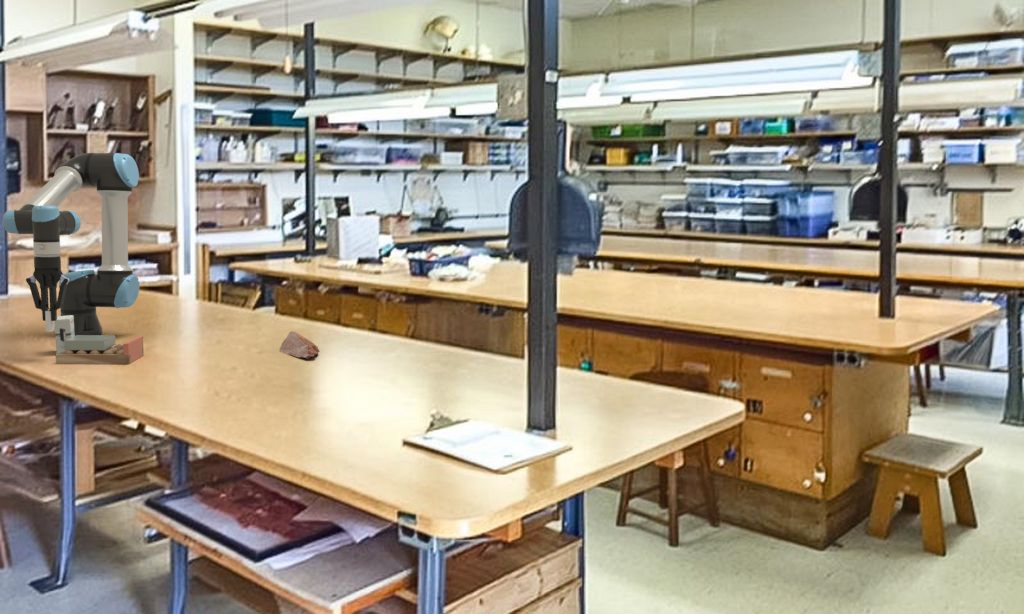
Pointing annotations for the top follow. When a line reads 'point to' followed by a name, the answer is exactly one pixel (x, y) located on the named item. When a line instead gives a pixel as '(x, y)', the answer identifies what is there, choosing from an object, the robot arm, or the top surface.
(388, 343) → the top surface
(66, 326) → the ink box
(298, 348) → the rock
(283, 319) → the top surface
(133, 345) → the stop rail
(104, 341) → the stone slab
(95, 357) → the roller bed
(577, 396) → the top surface
